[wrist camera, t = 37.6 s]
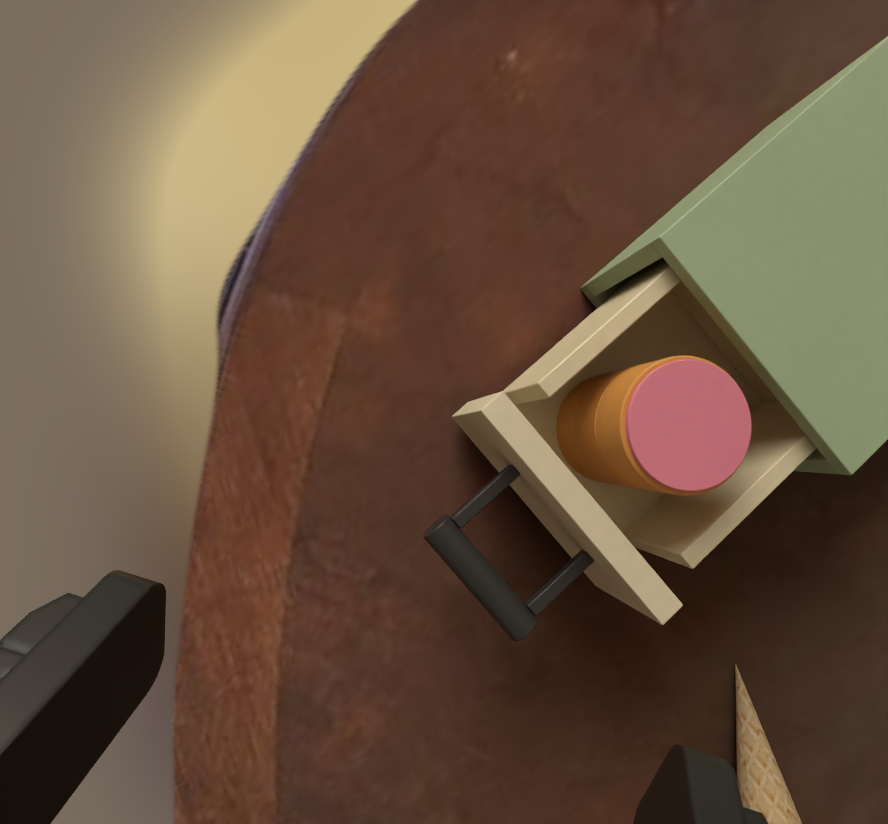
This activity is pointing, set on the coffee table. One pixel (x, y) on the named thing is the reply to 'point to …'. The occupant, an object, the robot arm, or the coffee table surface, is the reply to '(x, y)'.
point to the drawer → (601, 504)
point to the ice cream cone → (759, 765)
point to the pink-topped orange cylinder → (657, 426)
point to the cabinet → (796, 260)
